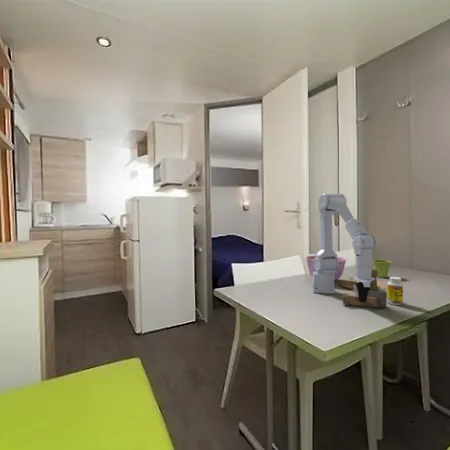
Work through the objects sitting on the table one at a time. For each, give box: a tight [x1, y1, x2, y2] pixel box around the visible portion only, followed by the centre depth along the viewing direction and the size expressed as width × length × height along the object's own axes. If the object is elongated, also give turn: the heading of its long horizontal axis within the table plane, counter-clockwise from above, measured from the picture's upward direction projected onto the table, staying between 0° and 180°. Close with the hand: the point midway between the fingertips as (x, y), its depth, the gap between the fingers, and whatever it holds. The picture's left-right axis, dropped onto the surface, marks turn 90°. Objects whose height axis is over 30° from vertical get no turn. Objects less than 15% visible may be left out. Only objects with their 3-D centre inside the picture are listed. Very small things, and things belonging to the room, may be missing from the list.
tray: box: [352, 284, 387, 299], centre depth 135 cm, size 11×11×3 cm
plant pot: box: [372, 259, 392, 279], centre depth 171 cm, size 9×9×9 cm
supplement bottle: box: [386, 276, 404, 306], centre depth 123 cm, size 6×6×10 cm
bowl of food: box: [305, 255, 347, 281], centre depth 161 cm, size 20×20×12 cm
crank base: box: [371, 306, 391, 312], centre depth 117 cm, size 6×6×1 cm
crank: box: [342, 292, 387, 309], centre depth 119 cm, size 15×5×3 cm, turn 68°
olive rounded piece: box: [369, 268, 378, 291], centre depth 134 cm, size 6×6×11 cm
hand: (362, 301), depth 118 cm, fingers closed, pressing on crank
